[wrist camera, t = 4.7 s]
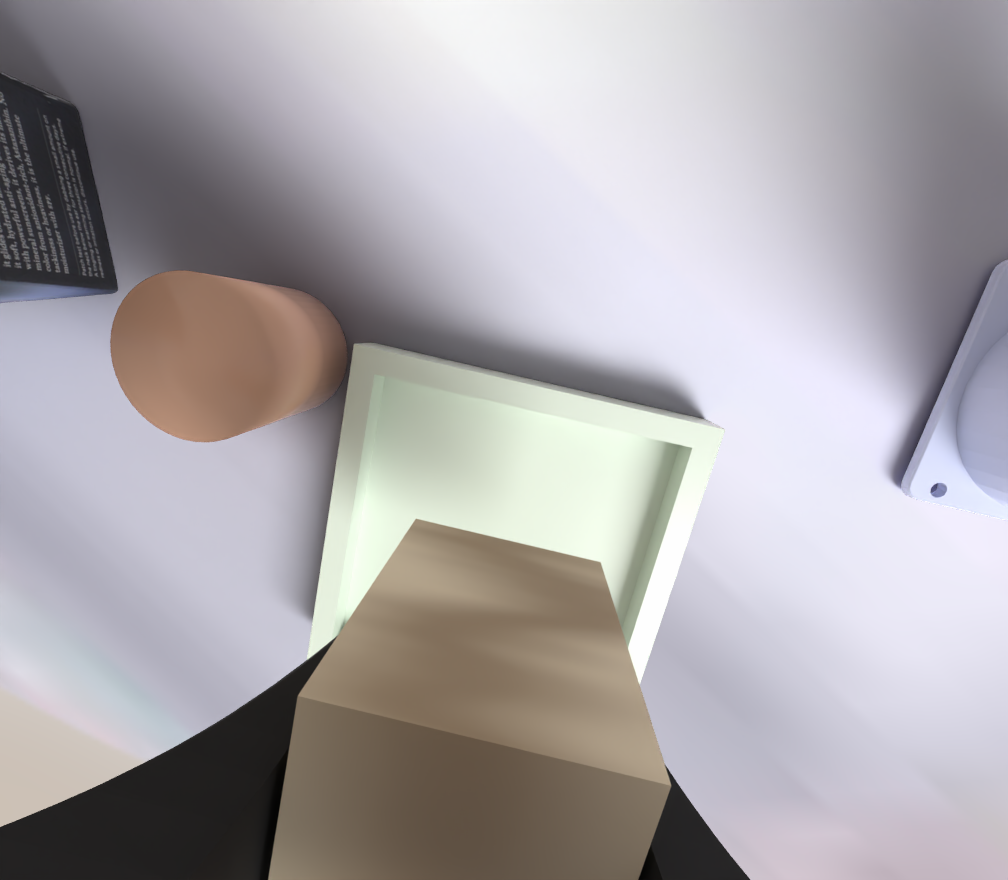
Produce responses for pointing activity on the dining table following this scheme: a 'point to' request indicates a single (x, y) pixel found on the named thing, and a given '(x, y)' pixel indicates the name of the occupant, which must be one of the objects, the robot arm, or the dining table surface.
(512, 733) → the maple block
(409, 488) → the tray
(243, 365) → the peach rounded cylinder
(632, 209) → the dining table surface
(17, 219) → the small box
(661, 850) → the robot arm
